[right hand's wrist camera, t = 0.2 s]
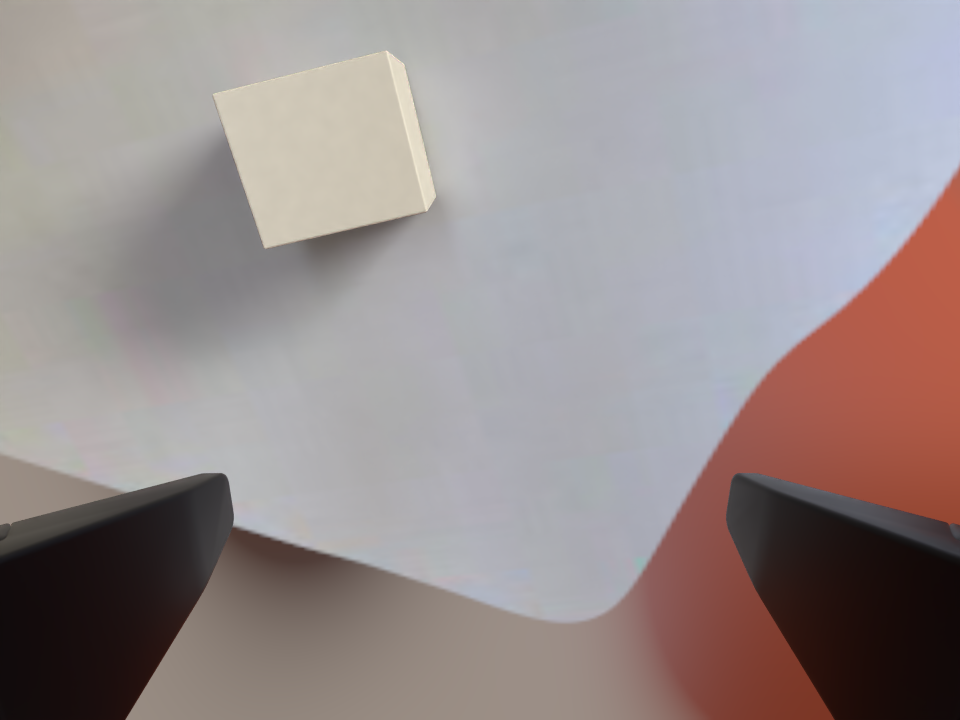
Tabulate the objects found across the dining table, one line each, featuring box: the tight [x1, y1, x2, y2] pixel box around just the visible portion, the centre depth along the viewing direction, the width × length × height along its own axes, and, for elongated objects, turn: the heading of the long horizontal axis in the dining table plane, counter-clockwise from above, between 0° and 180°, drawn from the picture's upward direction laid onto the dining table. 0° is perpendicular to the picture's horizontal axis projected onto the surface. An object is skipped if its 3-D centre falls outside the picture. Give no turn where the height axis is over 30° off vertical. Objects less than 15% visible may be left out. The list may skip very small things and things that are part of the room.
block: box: [213, 51, 436, 249], centre depth 20 cm, size 4×5×4 cm
